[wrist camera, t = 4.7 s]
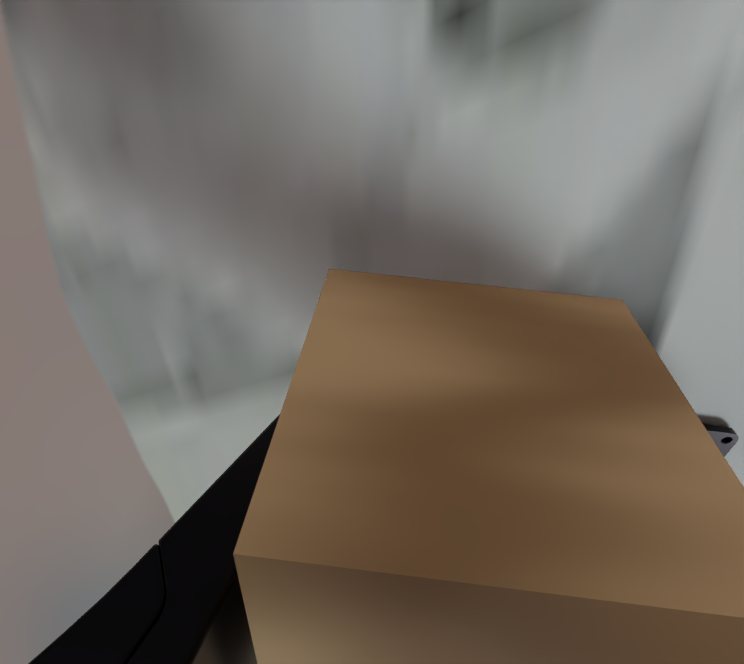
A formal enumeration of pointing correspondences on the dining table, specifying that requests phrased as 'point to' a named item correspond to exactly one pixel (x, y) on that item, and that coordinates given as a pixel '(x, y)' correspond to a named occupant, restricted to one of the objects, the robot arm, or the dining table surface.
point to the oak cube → (488, 489)
